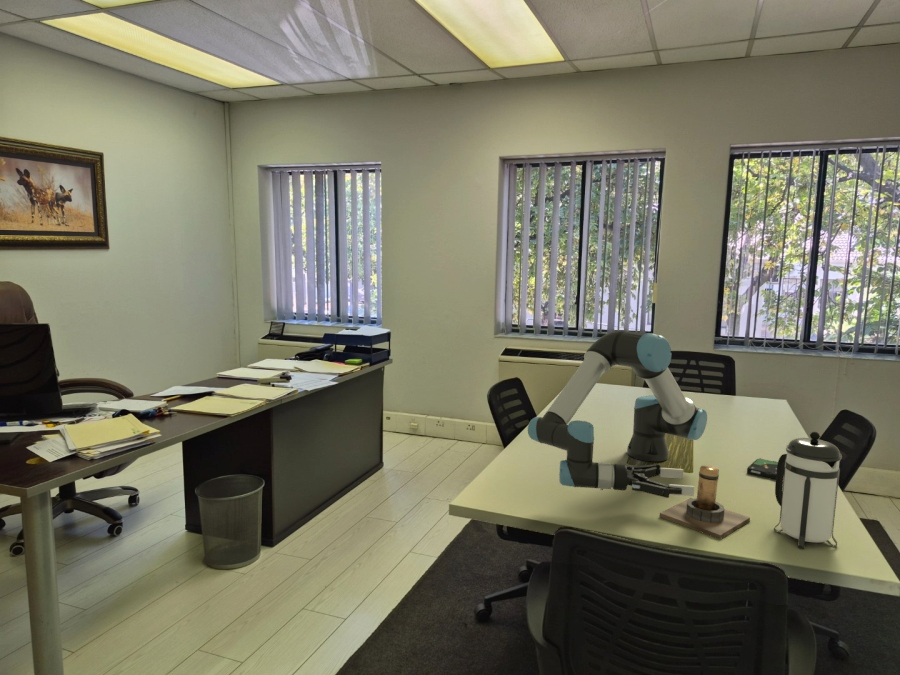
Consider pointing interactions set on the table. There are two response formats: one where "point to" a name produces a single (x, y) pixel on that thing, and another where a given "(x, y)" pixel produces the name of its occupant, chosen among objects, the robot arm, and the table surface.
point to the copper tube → (707, 488)
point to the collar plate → (705, 526)
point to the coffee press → (808, 489)
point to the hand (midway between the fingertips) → (688, 482)
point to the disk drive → (763, 468)
